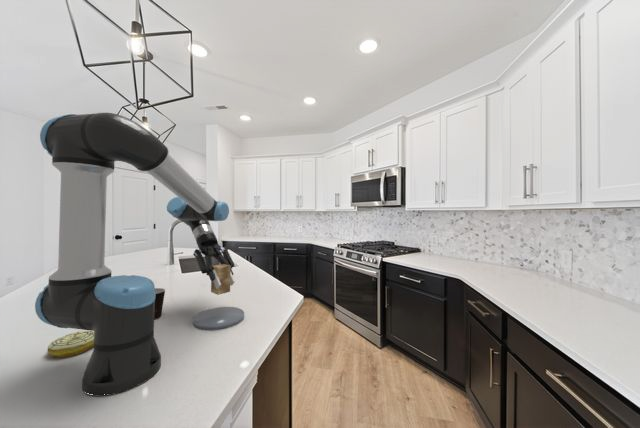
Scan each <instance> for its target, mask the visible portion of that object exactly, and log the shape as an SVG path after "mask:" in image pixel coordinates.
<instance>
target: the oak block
mask: <svg viewBox="0 0 640 428" xmlns="http://www.w3.org/2000/svg"><path fill="white" fill-rule="evenodd" d="M212 268H213V270H215V271H216V273H217V276H218V278H219V280H220V283H221V286H220V287H219V289H216V287H215V284H214V282H213V281H211V280H210V293H212V294H215V295H217V296H219V295H223V294H227V293H230V292H231V285H230V272H231V266H230V265H226V264H215V265H212ZM213 270H212V271H213Z"/></svg>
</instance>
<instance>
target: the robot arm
mask: <svg viewBox="0 0 640 428" xmlns="http://www.w3.org/2000/svg"><path fill="white" fill-rule="evenodd" d="M39 139H40V144H41V146H42V147H43V149H44V150H46V152H47V154H48V155H49V156H51V158H52V159H51V160H52V161H51V165H52V166H53V167H54V168H55V169H56V170H58V171H59V172H60V194H59V195H60V196H59V225H58V226H59V229H58V230H59V231H58V260H57V261H58V263H57V264H58V265H57V270H56V271H54V272H53V273H52V274H50V275H49V276H48V284H47V285H46V286H44V287H43V290H42V291H40V292H39V293H38V295H37V297H36V300H35V303H34V308H35V309H34V311H35V314H36V316H37V317H38V318H39V320H40V321H42V322H43V323H45V324H47V325H50V326H53V327H56V328H59V329H60V328H61V329H74V330H81V331H92V332H94V346H93V349H92V350H93V351H92V354H91V356H90V358H89V361H88V363H87V364H86V368H85V370H84V373H83V376H82V379H81V389H83V390H82V392H83V391H85V392H86V393H89V394H93V395H103V396H108V395H107V394H110V395H114V394H113V393H115V394H119V393H122V392H125V391H128V390H130V388H131V389H134V388H135V386H136V387H138V386H140V385H141V383H142V384H143V383H145V382H147V381H149V380H150V379H151V378H152V377H154V376H155V375H156V374H157V372H159V371H160V368H161V367H162V354H161V351H160V348H159V347H158V344H157V342H156V339H155V334H154V331H155V320H154V316H155V298H156V297H155V296H156V294H155V288H156V286H155V283H154V281H153V280H152V279H151V278H148V277H146V276H142V275H134V274H133V275H127V274H126V275H123V274H122V275H115V276H112V269H111V268H109V267H107V265H105V259H106V257H105V253H106V251H105V249H106V218H107V217H106V213H107V180H108V179H107V178H108V176H109V175H111V174H113V173H115V162H122V163H126V164H129V165H131V166H133V167H135V168H136V169H137V170H138V171H139V172H145V173H148V174H149V175H150V176H152V177H153V178H154V179H156V180H157V182H159V183H160V184H161V185H163V186H164V187H165V188H167V189H168V190H169V191H170V192H172V193H173V194H174V195H175V196H176V197H173V198H171V199H170V200H169V201H168V202H167V205H166V211H167V212H168V213H169V214H170V215H171V216H172V217H174V218H176V219H177V220H179V221H180V222H183V224H185V225H187V226H188V227H189V228H190V230H191V232H192V235H193V237H194V239H195V241H196V244H197V249H195V250H194V251H193V256H194V257H195V259H196V261H197V264H198V266H199V270H200V271H201V274H205V275H206V276H208V277H209V279H210V282H211V281H213V282H214V284H215V287H216V289H219V287H220V286H221V283H220V280H219V278H218V276H217V273H216V271H215V270H213V268H212V266H213V262H212V261H213V259H212V258H214V259H216V260H217V261H218V262H219V263H220V264H226V265H230V266H231V272H230V287H232V286H233V285H234V284H235V283H236V280H235V277H234V272H233V270H232V269H233V268H234V266H235V263H234V261H233V259H232V256H231V254H230V253H229V251H228V250H229V249H228V246H224V247H221V245H220V244H219V241H218V238H217V236H216V235H215V232H214V230H213V227H212V226H211V223H210V222H222V221H225V220H226V221H227V220H228V217H229V214H230V209H229V205H228V204H227V202H225V201H220V200H218V201H217V200H216V199H215V198H214V197H212V195H210V193H208V192H207V191H206V189H204V188H203V187H202V185H200V184H199V182H198V181H196V179H194V178H193V176H191V175H190V173H188V172H187V171H186V170H185V169H184V168H183V167H182V166H181V165H180V164H179V163H178V162H177V161H176V160H175V158H173V157H172V156H171V155H170V154H169V153H170V151H169V147H167V146H166V145H165V143H163V142H162V141H161V140H160V139H159V138H158V137H157V136H155V134H153V133H152V132H150V131H149V130H148V129H146V128H145V127H144V126H142V125H140V124H139V123H138V122H136V121H134V120H132V119H130V118H128V117H126V116H124V115H121V114H117V113H112V112H97V113H96V112H95V113H84V114H72V113H70V114H64V115H60V116H56V117H53V118H51V119H49V120H48V121H46V122H45V123H44V124H43V126H42V127H41V130H40V134H39ZM203 255H204V257H203ZM220 264H219V265H220ZM212 270H213V271H212ZM139 384H140V385H139ZM137 385H138V386H137ZM127 389H128V390H127ZM124 390H125V391H124ZM121 391H122V392H121ZM118 392H119V393H118ZM86 393H85V394H86ZM104 394H105V395H104ZM93 395H92V396H93Z"/></svg>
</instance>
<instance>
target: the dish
mask: <svg viewBox="0 0 640 428" xmlns="http://www.w3.org/2000/svg"><path fill="white" fill-rule="evenodd" d="M244 319H245V311H244V310H243V309H241V308H239V307H235V306H219V307H212V308H208V309H205V310H202V311H200V312H198V313H197V314H196V315H194V316H193V318H192V325H193V327H194V328H196V329H199V330H202V331H219V330H224V329H228V328H231V327H234V326H237V325H238V324H240V323H241V322H242V321H243V320H244Z"/></svg>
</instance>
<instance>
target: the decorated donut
mask: <svg viewBox="0 0 640 428" xmlns="http://www.w3.org/2000/svg"><path fill="white" fill-rule="evenodd" d="M92 348H94V331H91V330H81V331H76V332H71V333H69V334H67V335H64V336H62V337H58V338H56V339H55V340H54V341H52V342H50V343H49V344H48V346H47V353H48V354H49V355H50V356H51V357H53V358H67V357H72V356H76V355H80V354H83V353H85V352H87V351H89V350H90V349H92Z"/></svg>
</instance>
